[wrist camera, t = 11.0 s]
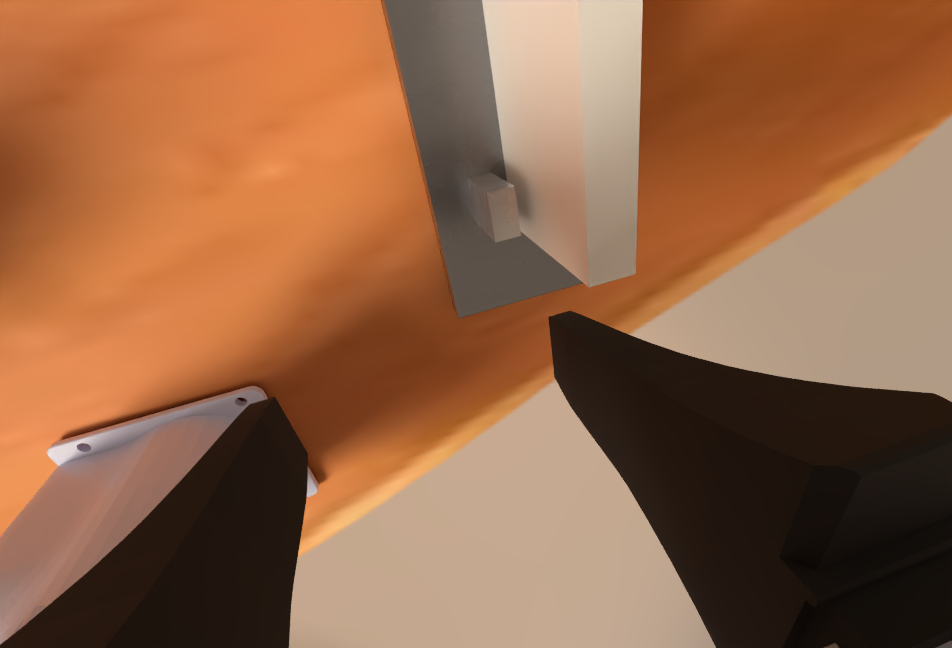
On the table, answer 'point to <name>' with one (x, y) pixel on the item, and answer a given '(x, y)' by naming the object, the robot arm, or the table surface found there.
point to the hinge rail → (465, 155)
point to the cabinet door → (571, 126)
